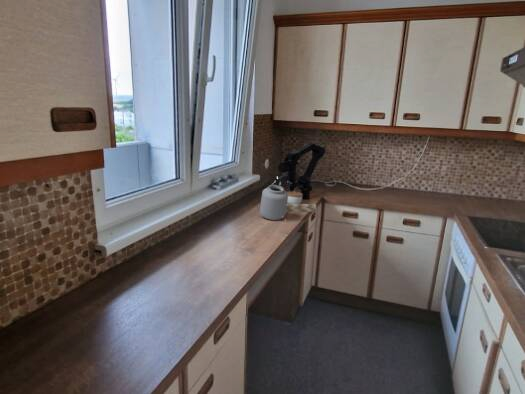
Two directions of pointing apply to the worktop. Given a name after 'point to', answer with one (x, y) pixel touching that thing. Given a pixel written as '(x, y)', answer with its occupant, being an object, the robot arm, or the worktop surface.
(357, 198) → the worktop surface
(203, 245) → the worktop surface
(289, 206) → the board
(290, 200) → the lidded jar
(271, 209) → the jar
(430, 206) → the worktop surface
